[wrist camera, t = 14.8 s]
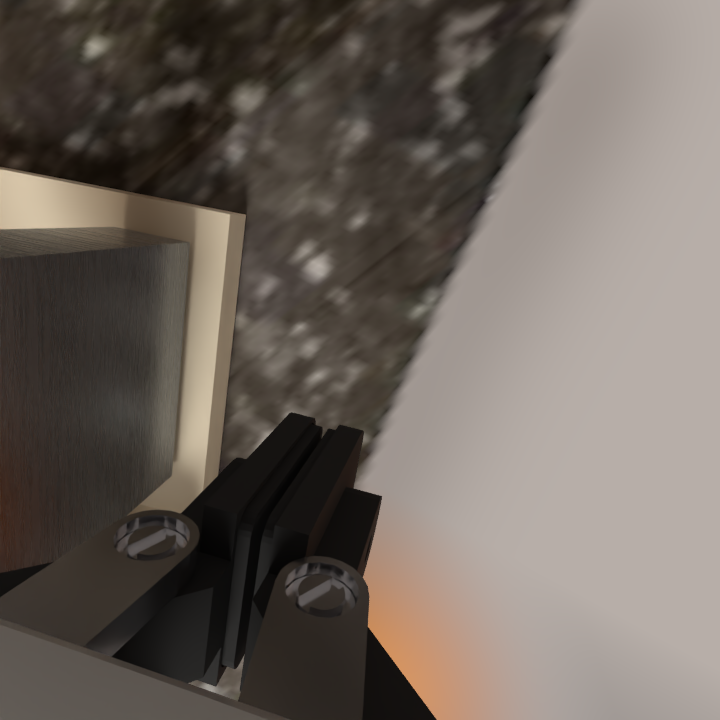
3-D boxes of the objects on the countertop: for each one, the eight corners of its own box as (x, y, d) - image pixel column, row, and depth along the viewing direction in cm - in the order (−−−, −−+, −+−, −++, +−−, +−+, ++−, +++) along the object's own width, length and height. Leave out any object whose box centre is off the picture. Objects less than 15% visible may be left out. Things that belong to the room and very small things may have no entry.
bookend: (106, 457, 18) (-100, 596, 11) (114, 226, 16) (-139, 232, 9) (171, 475, 18) (-1, 628, 11) (189, 242, 15) (-16, 259, 9)
